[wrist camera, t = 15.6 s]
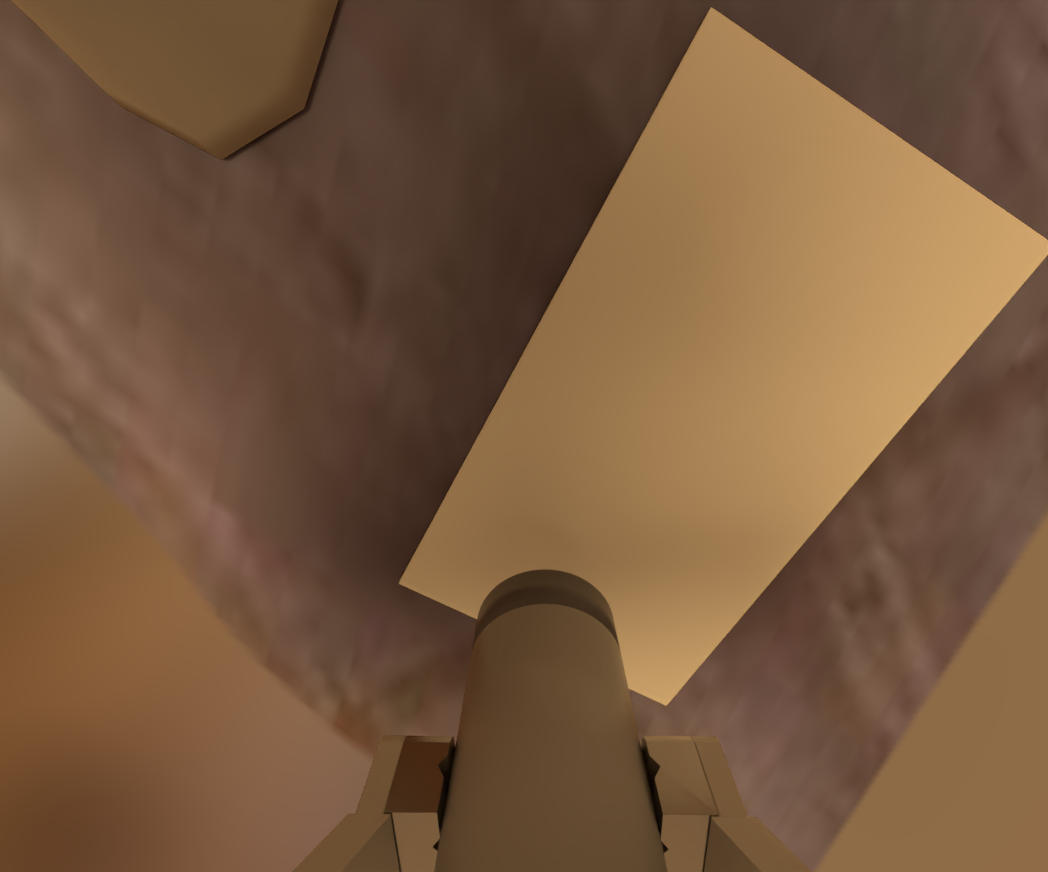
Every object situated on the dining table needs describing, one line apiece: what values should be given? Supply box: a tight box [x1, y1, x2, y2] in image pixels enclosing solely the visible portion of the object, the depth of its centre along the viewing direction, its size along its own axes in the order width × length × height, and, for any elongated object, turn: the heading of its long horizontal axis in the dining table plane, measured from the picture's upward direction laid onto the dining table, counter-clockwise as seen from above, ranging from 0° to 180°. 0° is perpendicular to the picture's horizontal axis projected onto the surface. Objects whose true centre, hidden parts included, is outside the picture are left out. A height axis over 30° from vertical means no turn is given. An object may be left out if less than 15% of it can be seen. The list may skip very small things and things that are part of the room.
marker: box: [434, 569, 668, 872], centre depth 10 cm, size 4×4×9 cm
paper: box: [399, 7, 1048, 706], centre depth 17 cm, size 20×12×1 cm, turn 152°
